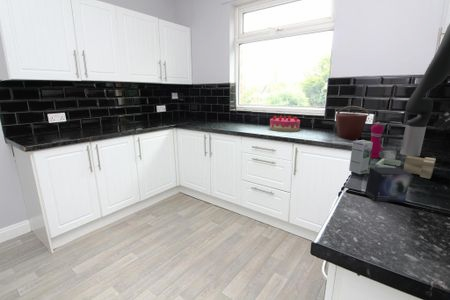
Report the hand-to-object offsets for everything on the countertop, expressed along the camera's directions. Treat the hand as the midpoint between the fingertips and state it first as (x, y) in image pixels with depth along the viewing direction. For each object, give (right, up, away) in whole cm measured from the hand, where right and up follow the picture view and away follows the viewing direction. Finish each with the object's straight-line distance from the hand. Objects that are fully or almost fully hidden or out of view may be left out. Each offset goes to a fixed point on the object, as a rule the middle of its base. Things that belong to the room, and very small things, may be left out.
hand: (439, 127), depth 101 cm
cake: (-35, +10, +127) cm, 132 cm away
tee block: (-4, -20, +7) cm, 22 cm away
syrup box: (-31, -20, +8) cm, 38 cm away
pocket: (-12, -18, +14) cm, 26 cm away
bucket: (+8, 0, +90) cm, 91 cm away
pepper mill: (-8, -14, +34) cm, 37 cm away
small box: (-37, -27, -19) cm, 50 cm away
